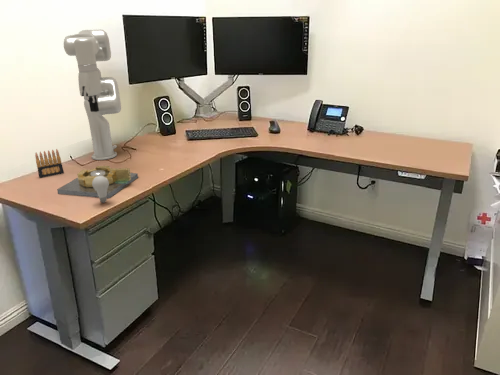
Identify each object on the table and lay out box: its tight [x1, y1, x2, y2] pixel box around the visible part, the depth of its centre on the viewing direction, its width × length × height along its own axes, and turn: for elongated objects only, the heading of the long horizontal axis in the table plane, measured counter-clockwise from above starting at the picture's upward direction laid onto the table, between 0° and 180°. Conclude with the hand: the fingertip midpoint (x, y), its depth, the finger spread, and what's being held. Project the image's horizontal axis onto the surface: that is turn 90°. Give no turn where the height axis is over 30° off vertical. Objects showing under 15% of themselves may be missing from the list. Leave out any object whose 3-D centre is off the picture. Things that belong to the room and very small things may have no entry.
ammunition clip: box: [34, 148, 65, 179], centre depth 194 cm, size 11×2×12 cm, turn 123°
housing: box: [56, 170, 139, 199], centre depth 182 cm, size 24×25×6 cm
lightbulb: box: [92, 176, 109, 203], centre depth 164 cm, size 6×6×11 cm
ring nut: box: [77, 165, 131, 187], centre depth 181 cm, size 21×15×5 cm
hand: (94, 111), depth 187 cm, fingers closed
